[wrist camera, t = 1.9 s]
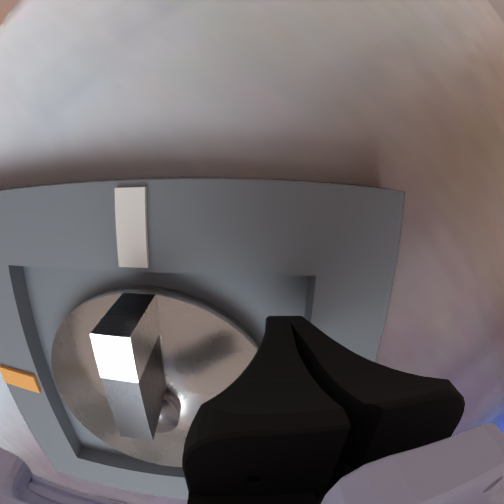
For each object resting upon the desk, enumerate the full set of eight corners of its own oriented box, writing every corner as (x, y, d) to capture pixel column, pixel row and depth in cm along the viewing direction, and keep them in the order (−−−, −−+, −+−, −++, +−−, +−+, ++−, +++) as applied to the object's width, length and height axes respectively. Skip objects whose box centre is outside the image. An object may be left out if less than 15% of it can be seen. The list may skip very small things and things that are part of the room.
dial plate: (319, 474, 19) (325, 497, 16) (64, 453, 17) (54, 473, 15) (381, 187, 13) (407, 192, 11) (-14, 191, 12) (-42, 197, 10)
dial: (267, 459, 16) (273, 513, 12) (89, 442, 15) (70, 487, 11) (284, 288, 13) (305, 342, 9) (37, 278, 12) (-16, 314, 8)
